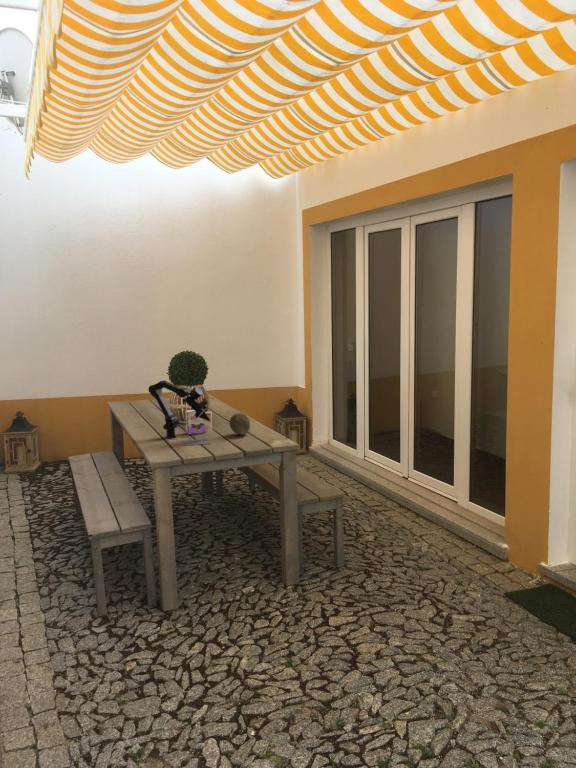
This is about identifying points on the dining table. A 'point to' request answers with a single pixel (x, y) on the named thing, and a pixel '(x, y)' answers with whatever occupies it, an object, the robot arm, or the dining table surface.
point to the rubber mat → (195, 442)
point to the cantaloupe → (239, 424)
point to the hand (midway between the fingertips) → (210, 419)
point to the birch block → (208, 422)
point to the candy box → (194, 423)
